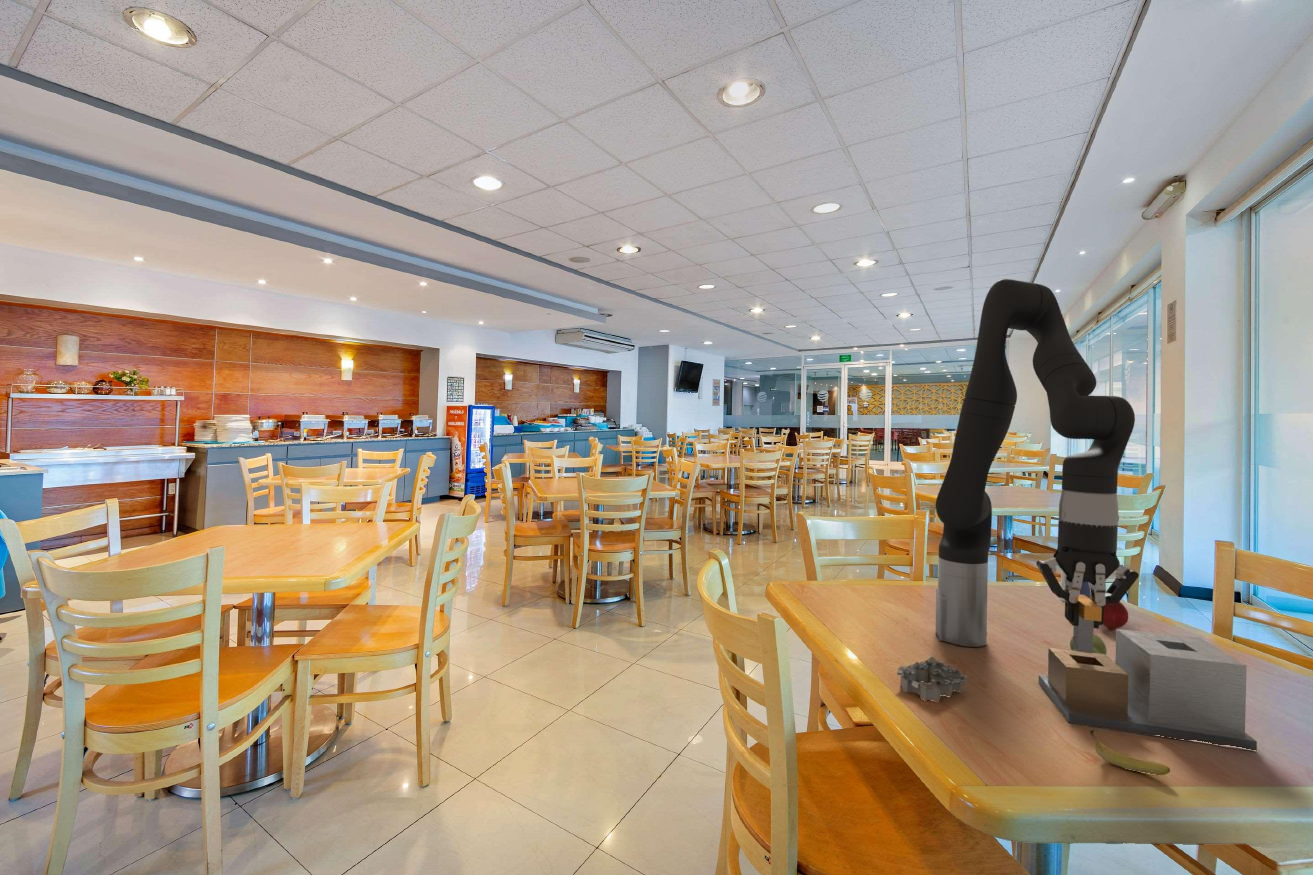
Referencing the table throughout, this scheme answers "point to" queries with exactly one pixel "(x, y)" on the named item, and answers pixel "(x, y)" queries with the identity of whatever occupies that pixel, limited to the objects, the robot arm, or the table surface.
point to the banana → (1128, 760)
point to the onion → (1115, 616)
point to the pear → (1094, 645)
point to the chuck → (1153, 688)
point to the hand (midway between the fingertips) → (1083, 624)
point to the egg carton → (941, 679)
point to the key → (1086, 624)
